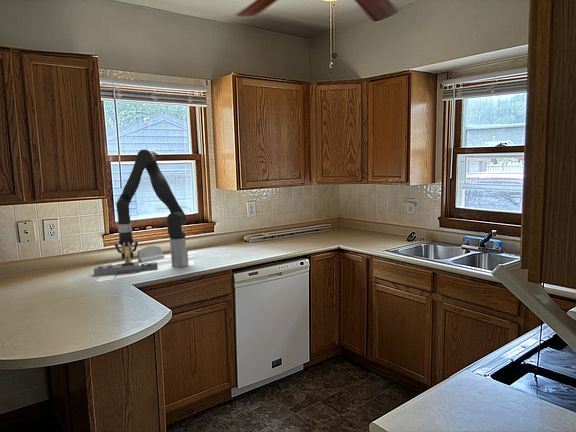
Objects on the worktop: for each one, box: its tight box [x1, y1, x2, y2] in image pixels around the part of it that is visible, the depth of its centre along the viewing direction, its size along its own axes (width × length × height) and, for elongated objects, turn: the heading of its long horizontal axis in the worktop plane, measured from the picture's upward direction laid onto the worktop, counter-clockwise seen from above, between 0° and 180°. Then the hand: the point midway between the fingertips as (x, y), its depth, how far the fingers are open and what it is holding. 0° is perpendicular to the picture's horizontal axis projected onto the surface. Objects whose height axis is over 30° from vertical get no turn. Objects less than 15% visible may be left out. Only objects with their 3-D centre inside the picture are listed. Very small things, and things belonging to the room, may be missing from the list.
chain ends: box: [93, 261, 158, 277], centre depth 258 cm, size 35×11×5 cm, turn 110°
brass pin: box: [123, 246, 133, 263], centre depth 267 cm, size 4×4×12 cm
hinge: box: [137, 245, 165, 263], centre depth 288 cm, size 17×5×10 cm, turn 134°
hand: (127, 258), depth 268 cm, fingers closed on brass pin, 4 cm apart
